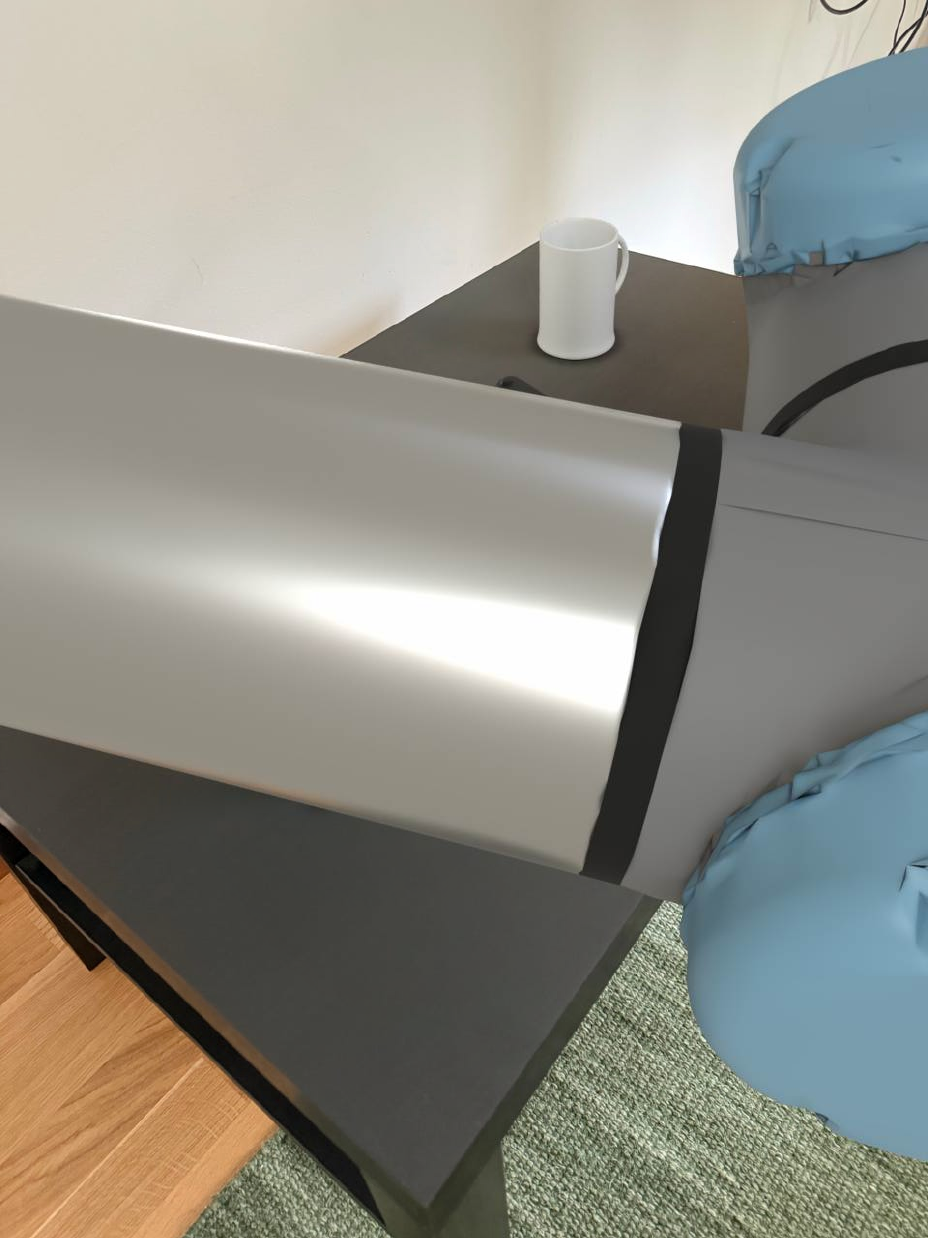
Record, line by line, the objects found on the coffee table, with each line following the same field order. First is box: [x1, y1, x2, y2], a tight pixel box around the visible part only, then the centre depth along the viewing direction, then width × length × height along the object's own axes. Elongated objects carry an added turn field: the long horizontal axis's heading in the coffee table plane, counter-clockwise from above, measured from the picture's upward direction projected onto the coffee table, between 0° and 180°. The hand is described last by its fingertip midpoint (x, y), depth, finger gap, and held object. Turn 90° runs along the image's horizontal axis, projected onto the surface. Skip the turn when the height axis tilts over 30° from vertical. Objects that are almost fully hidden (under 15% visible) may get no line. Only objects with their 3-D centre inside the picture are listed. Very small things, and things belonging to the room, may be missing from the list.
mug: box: [536, 217, 630, 361], centre depth 100 cm, size 12×8×12 cm
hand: (293, 489), depth 49 cm, fingers open, 13 cm apart
